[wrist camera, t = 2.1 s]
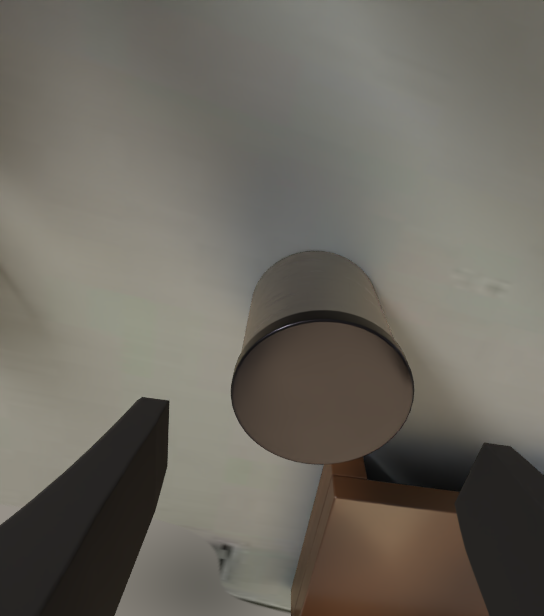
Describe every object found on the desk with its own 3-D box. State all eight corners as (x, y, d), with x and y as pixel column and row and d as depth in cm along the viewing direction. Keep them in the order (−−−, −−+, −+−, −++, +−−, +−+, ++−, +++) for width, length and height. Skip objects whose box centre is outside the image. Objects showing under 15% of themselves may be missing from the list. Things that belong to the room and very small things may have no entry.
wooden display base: (655, 487, 21) (764, 607, 16) (549, 621, 26) (606, 741, 21) (329, 443, 20) (339, 553, 16) (290, 589, 26) (290, 703, 21)
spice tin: (394, 257, 16) (439, 334, 11) (362, 370, 18) (388, 475, 13) (256, 238, 16) (239, 306, 11) (242, 354, 18) (223, 453, 13)
